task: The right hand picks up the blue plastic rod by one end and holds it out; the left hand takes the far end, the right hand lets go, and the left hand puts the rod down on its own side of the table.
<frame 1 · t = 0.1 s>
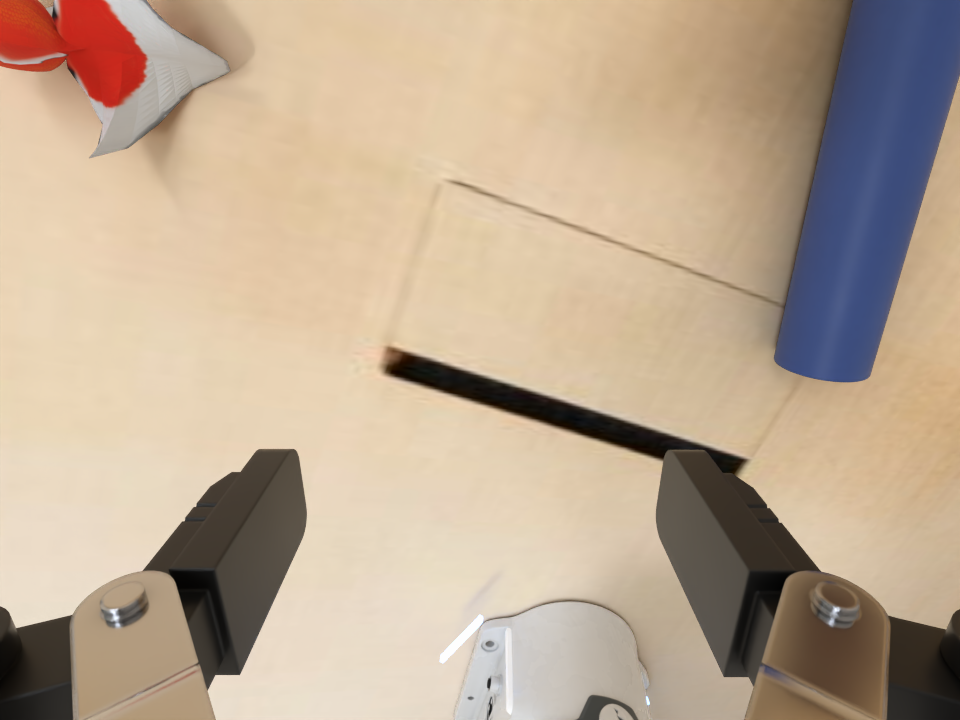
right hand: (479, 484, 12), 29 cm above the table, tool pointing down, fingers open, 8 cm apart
rod: (841, 164, 36), on the table
fish: (120, 49, 34), on the table
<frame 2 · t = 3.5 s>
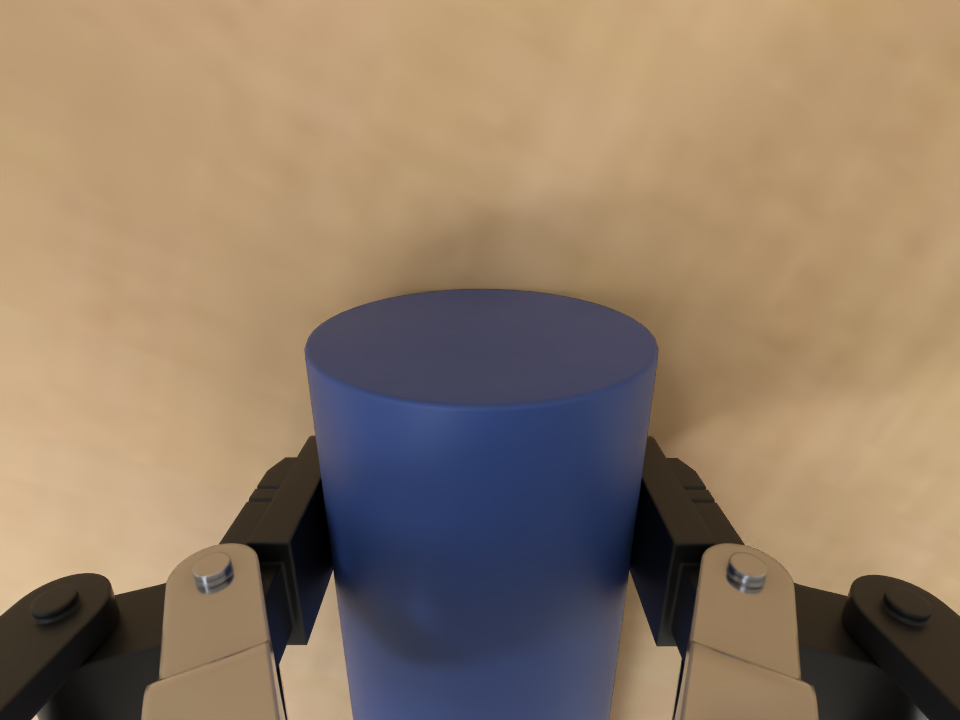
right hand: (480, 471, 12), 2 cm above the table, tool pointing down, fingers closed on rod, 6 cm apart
rod: (480, 699, 17), on the table, touching right hand
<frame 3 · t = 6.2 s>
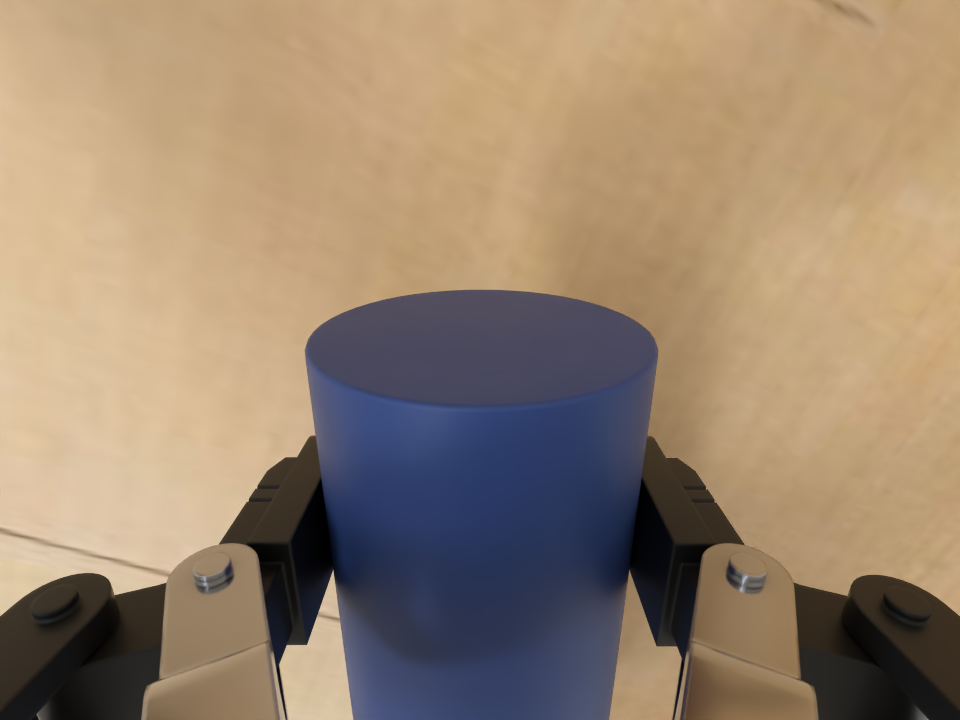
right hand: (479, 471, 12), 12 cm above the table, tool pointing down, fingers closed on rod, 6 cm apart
rod: (480, 699, 17), point 10 cm above the table, touching right hand
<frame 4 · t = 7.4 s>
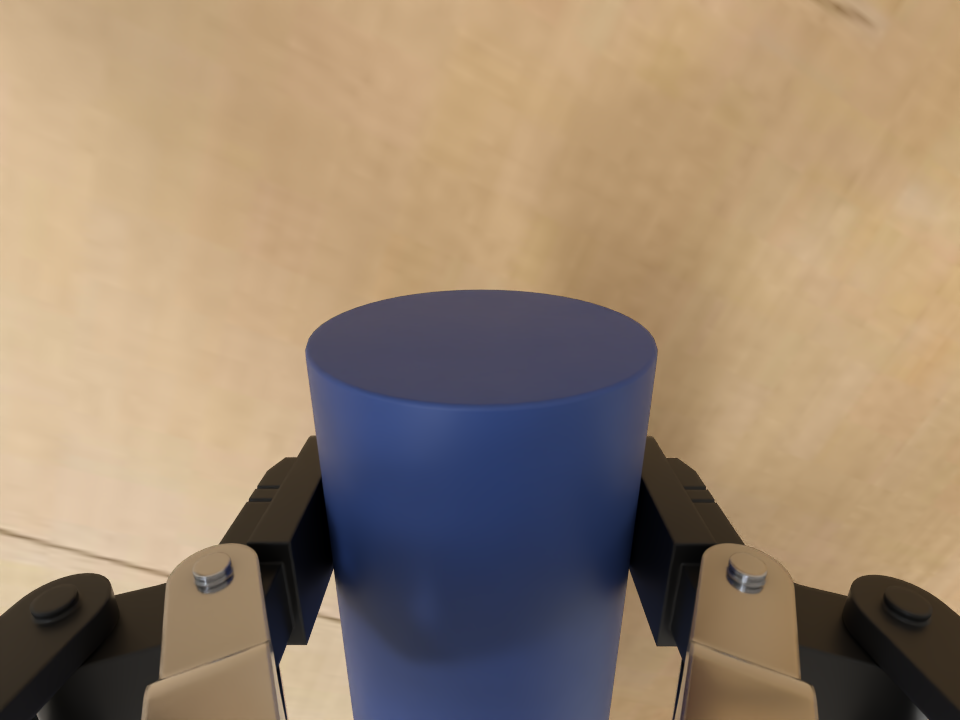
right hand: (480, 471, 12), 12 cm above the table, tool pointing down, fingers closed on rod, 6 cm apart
rod: (480, 698, 17), point 10 cm above the table, touching right hand, left hand
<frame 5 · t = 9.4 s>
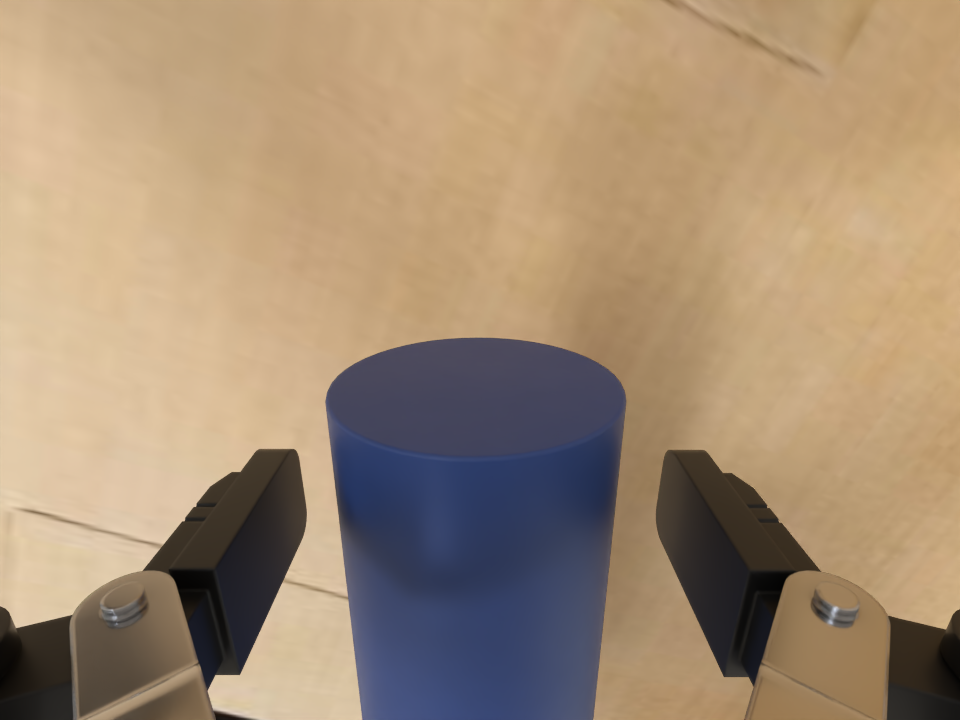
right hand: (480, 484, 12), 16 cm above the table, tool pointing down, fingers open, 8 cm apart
rod: (478, 708, 19), point 12 cm above the table, touching left hand
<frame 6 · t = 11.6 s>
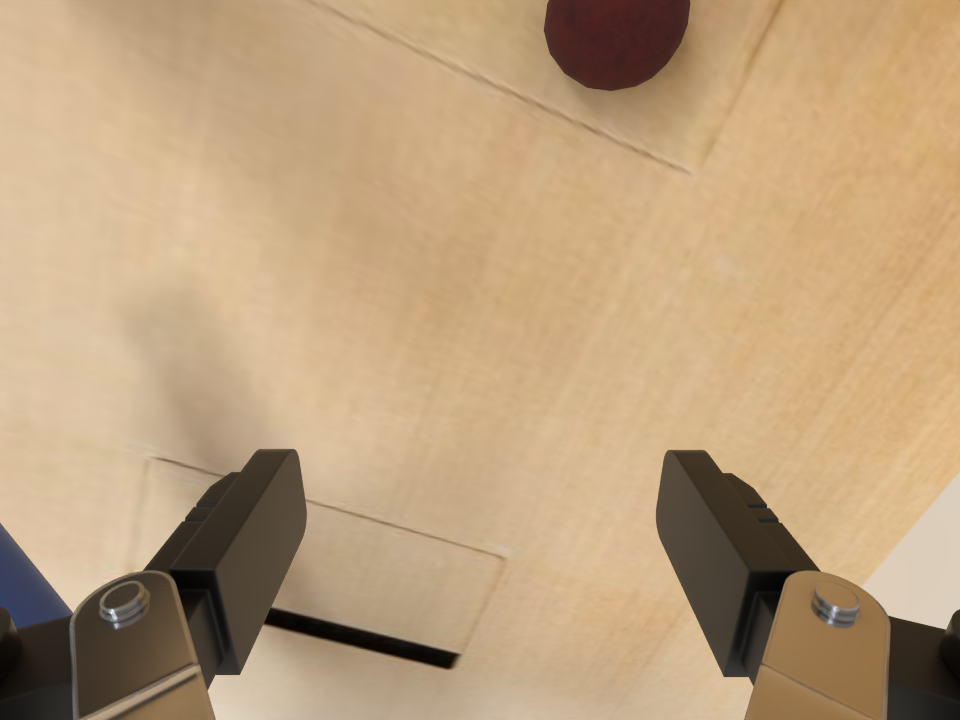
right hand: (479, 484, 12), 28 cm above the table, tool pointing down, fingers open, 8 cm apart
potato: (600, 31, 33), on the table
rod: (74, 635, 34), point 13 cm above the table, touching left hand
when the left hand's fingers open (4 cm above the table, at t = 16.0 s): rod stays where it is, on the table.
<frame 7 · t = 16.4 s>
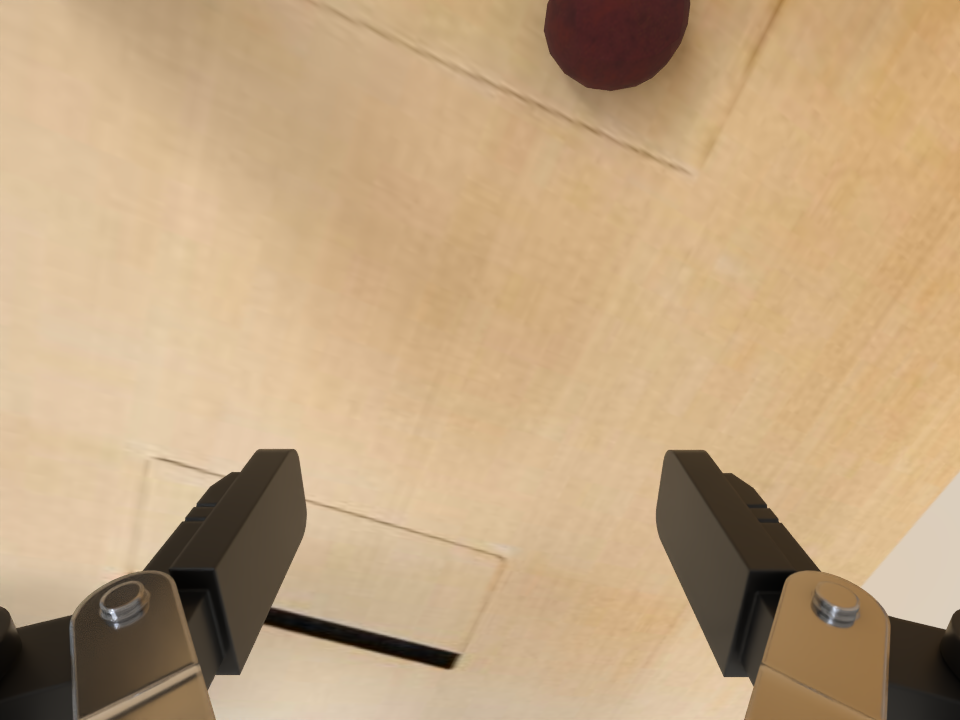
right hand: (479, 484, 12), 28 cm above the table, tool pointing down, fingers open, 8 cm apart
potato: (600, 31, 33), on the table
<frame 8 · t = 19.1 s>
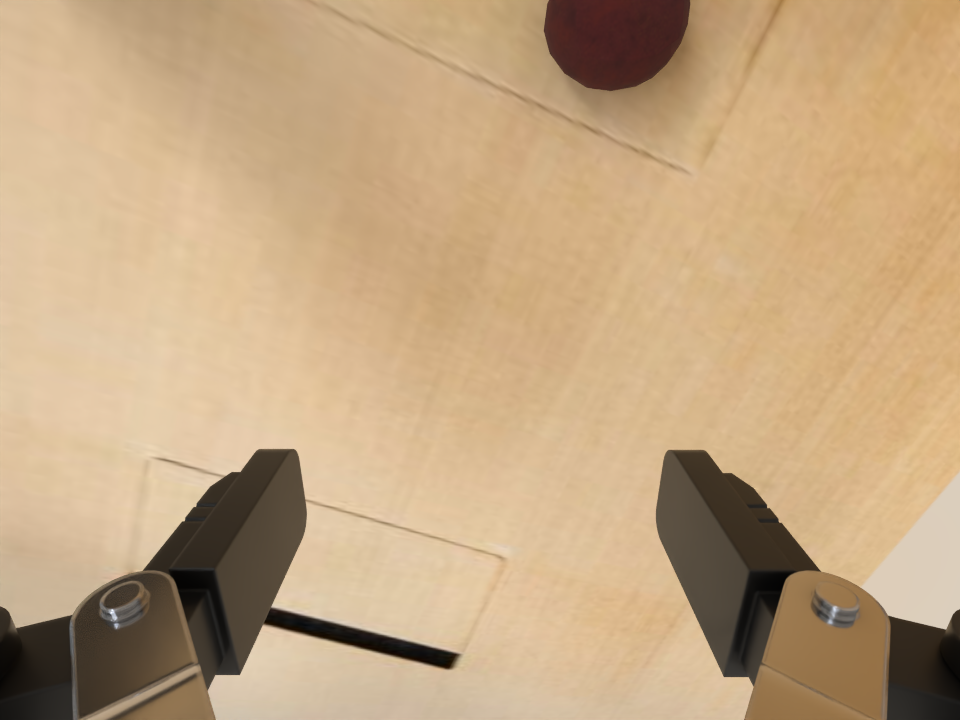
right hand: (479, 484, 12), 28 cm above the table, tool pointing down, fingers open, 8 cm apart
potato: (600, 31, 33), on the table
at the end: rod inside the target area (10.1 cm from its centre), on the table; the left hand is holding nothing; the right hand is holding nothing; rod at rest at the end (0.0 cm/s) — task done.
